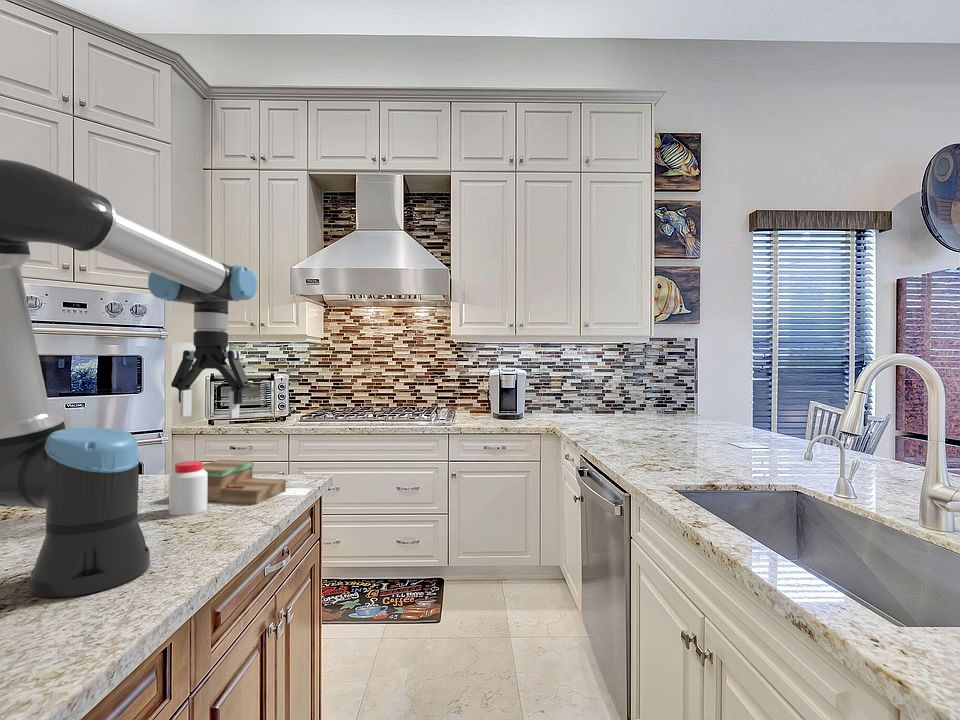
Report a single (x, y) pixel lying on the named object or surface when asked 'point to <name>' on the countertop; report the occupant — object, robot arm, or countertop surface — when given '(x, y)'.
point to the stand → (239, 483)
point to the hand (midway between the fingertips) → (209, 417)
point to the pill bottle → (188, 489)
